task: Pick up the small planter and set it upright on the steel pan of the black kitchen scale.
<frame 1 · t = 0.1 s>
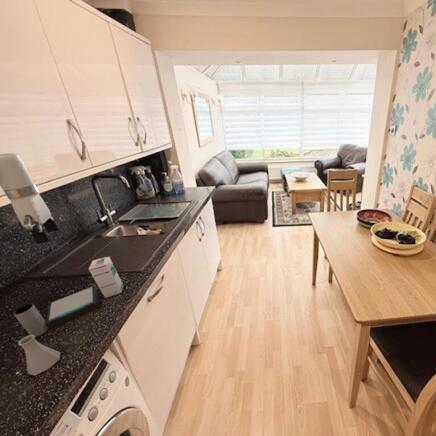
hand: (49, 236, 86), 25 cm above the countertop, tool pointing down, fingers open, 9 cm apart
syrup box: (114, 291, 95), on the countertop
planter: (40, 331, 80), on the countertop, touching scale
flask: (45, 363, 69), on the countertop
scale: (75, 307, 88), on the countertop
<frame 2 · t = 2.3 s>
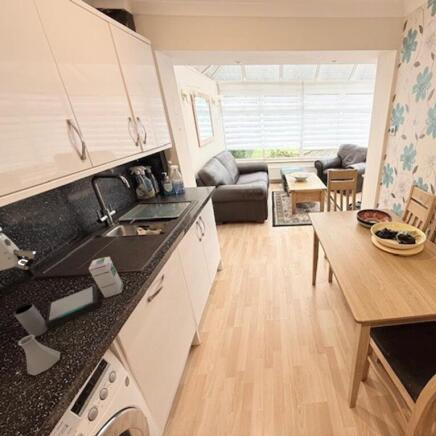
hand: (12, 284, 73), 19 cm above the countertop, tool pointing down, fingers open, 9 cm apart
planter: (40, 331, 80), on the countertop
everything else where it was.
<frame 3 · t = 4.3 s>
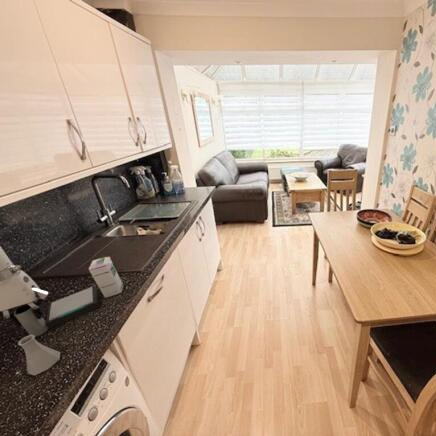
hand: (30, 319, 77), 6 cm above the countertop, tool pointing down, fingers closed on planter, 4 cm apart
planter: (40, 331, 80), on the countertop, touching gripper
everything else where it was.
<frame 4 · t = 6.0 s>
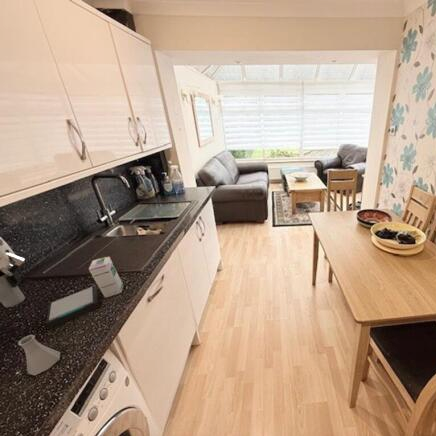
hand: (4, 287, 71), 19 cm above the countertop, tool pointing down, fingers closed on planter, 4 cm apart
planter: (15, 302, 74), point 13 cm above the countertop, touching gripper
everything else where it was.
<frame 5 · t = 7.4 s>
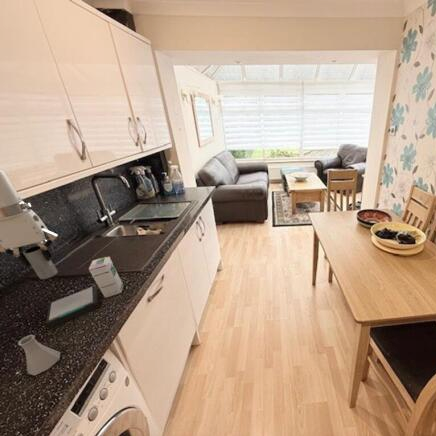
hand: (40, 261, 78), 22 cm above the countertop, tool pointing down, fingers closed on planter, 4 cm apart
planter: (49, 275, 80), point 16 cm above the countertop, touching gripper
everything else where it was.
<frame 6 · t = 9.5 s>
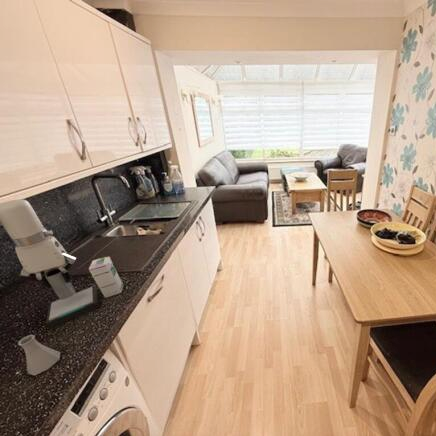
hand: (59, 282, 83), 12 cm above the countertop, tool pointing down, fingers closed on planter, 4 cm apart
planter: (68, 295, 86), point 6 cm above the countertop, touching gripper
everything else where it was.
when the fingers open (9 cm above the countertop, at t = 10.8 s): planter stays where it is, resting on scale.
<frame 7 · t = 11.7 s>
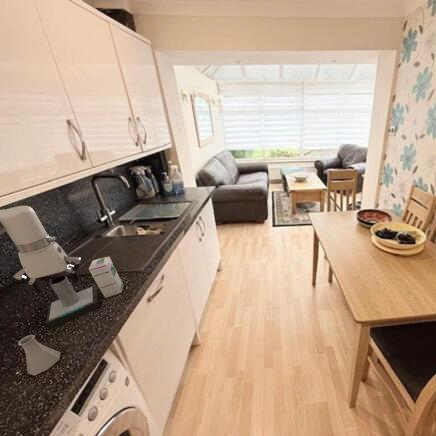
hand: (60, 285, 83), 11 cm above the countertop, tool pointing down, fingers open, 9 cm apart
planter: (71, 302, 87), point 3 cm above the countertop, touching scale
everything else where it was.
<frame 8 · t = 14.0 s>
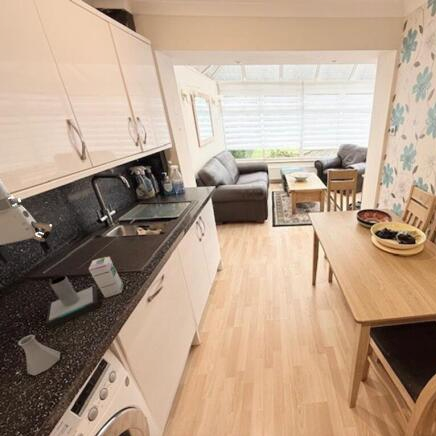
hand: (29, 255, 75), 25 cm above the countertop, tool pointing down, fingers open, 9 cm apart
nothing on the countertop moved.
at the end: planter inside the target area on the scale (0.1 cm from its centre), point 2.8 cm above the scale's base; planter tilted 0°; the gripper is holding nothing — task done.
